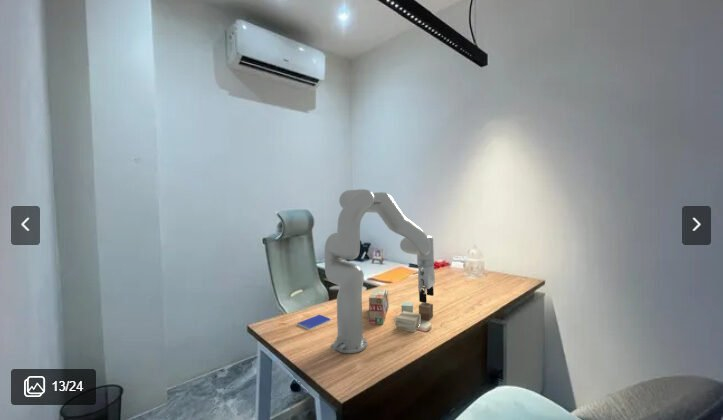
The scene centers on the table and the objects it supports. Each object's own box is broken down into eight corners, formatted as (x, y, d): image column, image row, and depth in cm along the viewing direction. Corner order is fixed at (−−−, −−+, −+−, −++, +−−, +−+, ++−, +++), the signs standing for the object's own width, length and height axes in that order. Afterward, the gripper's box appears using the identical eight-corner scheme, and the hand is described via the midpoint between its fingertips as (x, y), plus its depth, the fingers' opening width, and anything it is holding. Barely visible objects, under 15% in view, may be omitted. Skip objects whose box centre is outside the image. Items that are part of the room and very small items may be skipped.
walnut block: (429, 320, 135) (429, 307, 135) (418, 318, 137) (418, 305, 137) (433, 316, 139) (432, 304, 139) (422, 314, 142) (422, 302, 141)
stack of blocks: (376, 306, 153) (376, 283, 153) (388, 307, 152) (388, 283, 152) (369, 324, 133) (368, 297, 132) (383, 325, 131) (382, 297, 131)
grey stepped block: (414, 332, 123) (414, 320, 123) (396, 329, 127) (396, 317, 127) (420, 325, 130) (420, 314, 130) (403, 322, 134) (403, 311, 134)
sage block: (412, 318, 137) (412, 306, 137) (401, 318, 138) (401, 305, 138) (413, 314, 142) (412, 302, 142) (402, 314, 143) (402, 301, 143)
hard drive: (309, 327, 128) (330, 318, 137) (297, 322, 133) (318, 314, 142) (309, 331, 128) (330, 321, 137) (297, 326, 133) (319, 317, 143)
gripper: (426, 267, 128) (428, 306, 129) (439, 258, 143) (440, 294, 144) (410, 265, 132) (411, 303, 133) (424, 257, 147) (425, 291, 148)
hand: (426, 298), depth 138 cm, fingers open, 9 cm apart
